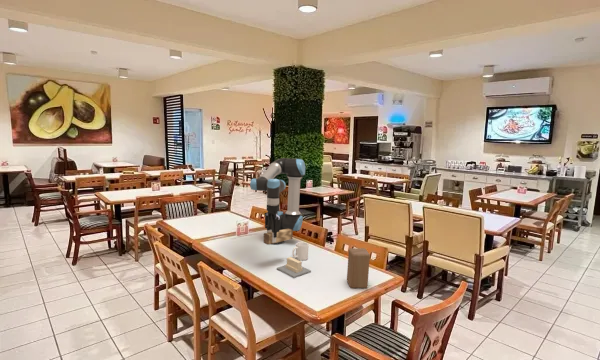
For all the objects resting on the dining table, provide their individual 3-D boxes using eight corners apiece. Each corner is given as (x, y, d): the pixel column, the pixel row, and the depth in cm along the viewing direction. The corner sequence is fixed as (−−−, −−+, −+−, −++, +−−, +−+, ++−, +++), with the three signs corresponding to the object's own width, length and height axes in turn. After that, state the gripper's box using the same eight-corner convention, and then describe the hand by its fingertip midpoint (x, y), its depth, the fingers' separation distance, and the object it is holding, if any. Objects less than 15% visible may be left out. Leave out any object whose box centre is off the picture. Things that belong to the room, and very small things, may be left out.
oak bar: (288, 237, 220) (288, 228, 219) (292, 238, 217) (292, 229, 216) (263, 242, 206) (263, 233, 205) (267, 244, 203) (267, 235, 202)
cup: (310, 259, 225) (311, 244, 224) (295, 262, 218) (296, 247, 217) (302, 255, 232) (303, 241, 230) (288, 258, 225) (289, 244, 223)
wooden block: (346, 280, 195) (348, 247, 192) (363, 280, 196) (365, 247, 193) (350, 288, 185) (352, 254, 182) (367, 288, 186) (370, 254, 183)
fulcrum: (293, 263, 216) (293, 253, 215) (311, 272, 204) (311, 261, 204) (276, 269, 206) (277, 258, 205) (294, 278, 195) (294, 266, 194)
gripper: (259, 202, 208) (258, 238, 211) (276, 207, 196) (275, 246, 199) (269, 201, 213) (268, 236, 216) (286, 206, 201) (285, 243, 204)
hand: (271, 241), depth 208 cm, fingers closed on oak bar, 4 cm apart
